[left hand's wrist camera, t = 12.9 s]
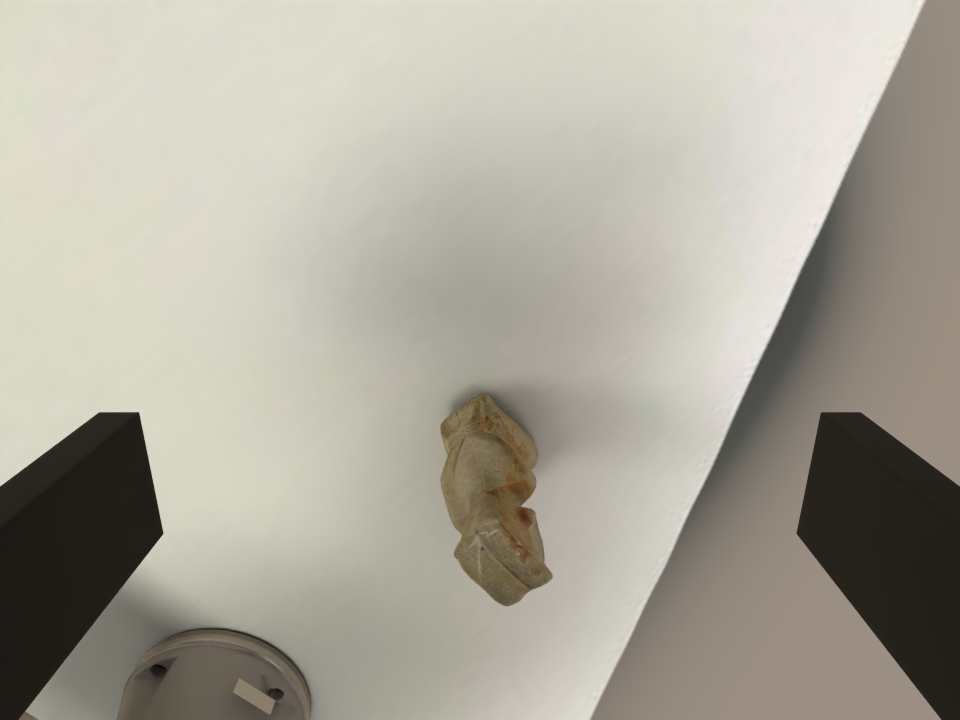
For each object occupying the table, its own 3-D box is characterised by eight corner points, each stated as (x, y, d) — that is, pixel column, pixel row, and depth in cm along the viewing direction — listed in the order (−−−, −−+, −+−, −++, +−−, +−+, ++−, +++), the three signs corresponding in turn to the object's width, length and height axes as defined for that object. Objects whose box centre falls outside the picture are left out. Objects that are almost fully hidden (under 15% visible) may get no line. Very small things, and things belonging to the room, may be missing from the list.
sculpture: (484, 485, 48) (486, 633, 34) (427, 413, 46) (404, 539, 32) (549, 445, 47) (579, 582, 33) (494, 370, 45) (501, 481, 31)
